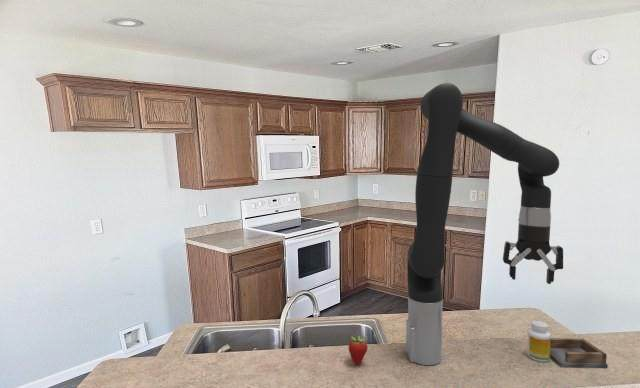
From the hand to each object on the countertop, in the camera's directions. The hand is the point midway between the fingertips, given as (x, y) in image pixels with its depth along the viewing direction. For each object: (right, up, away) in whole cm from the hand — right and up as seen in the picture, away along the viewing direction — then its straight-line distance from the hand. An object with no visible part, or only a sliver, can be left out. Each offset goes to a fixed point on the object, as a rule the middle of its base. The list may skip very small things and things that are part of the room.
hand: (530, 281), depth 99 cm
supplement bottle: (+3, -22, +1) cm, 22 cm away
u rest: (+12, -22, 0) cm, 25 cm away
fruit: (-48, -23, -2) cm, 53 cm away
